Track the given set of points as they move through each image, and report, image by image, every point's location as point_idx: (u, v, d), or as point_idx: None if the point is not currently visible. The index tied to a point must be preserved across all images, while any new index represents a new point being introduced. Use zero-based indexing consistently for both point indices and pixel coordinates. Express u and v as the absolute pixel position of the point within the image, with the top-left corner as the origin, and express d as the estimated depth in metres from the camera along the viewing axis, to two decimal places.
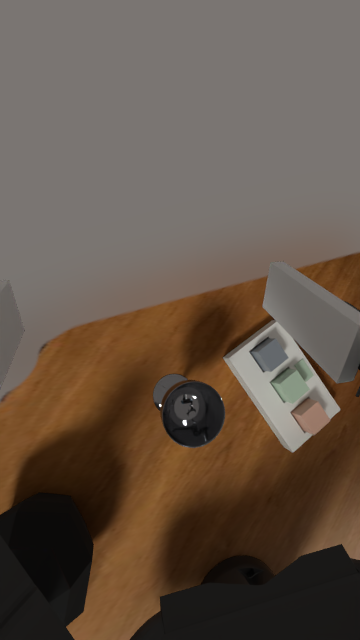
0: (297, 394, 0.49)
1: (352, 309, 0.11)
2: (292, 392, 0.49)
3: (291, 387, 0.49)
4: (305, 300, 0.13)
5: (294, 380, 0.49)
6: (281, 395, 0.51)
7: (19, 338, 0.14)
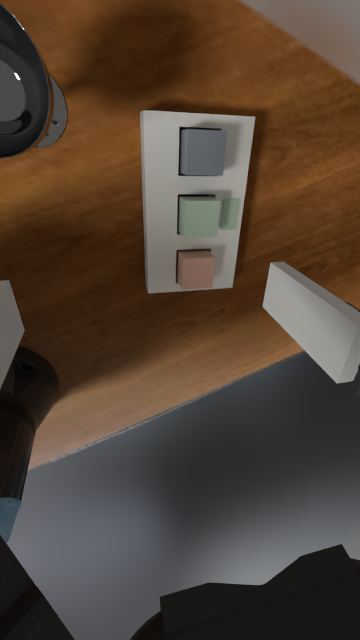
0: (197, 230, 0.34)
1: (352, 309, 0.11)
2: (193, 224, 0.33)
3: (197, 217, 0.33)
4: (305, 300, 0.13)
5: (207, 211, 0.33)
6: (180, 222, 0.35)
7: (19, 338, 0.14)
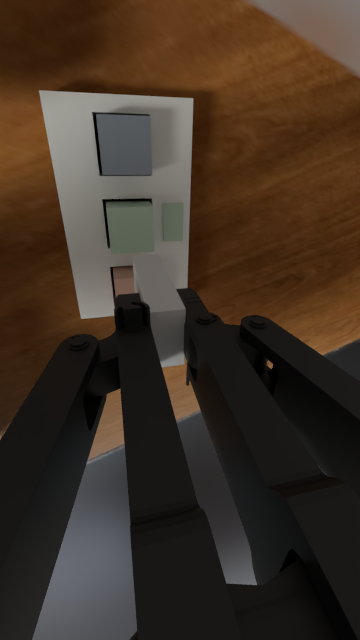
0: (127, 244, 0.27)
1: (176, 296, 0.12)
2: (121, 236, 0.26)
3: (124, 228, 0.26)
4: None
5: (137, 220, 0.26)
6: None
7: None
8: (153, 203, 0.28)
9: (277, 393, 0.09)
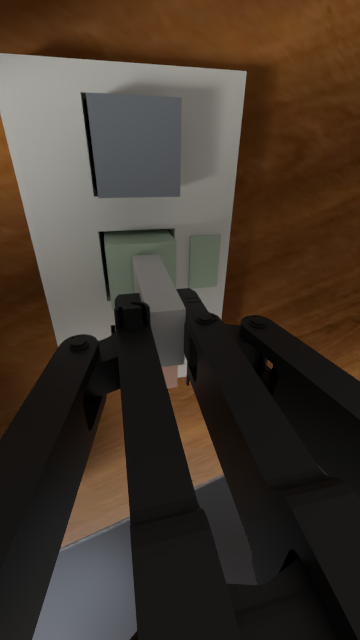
0: None
1: (176, 296, 0.12)
2: (127, 285, 0.17)
3: None
4: None
5: None
6: None
7: None
8: (176, 235, 0.18)
9: (277, 393, 0.09)
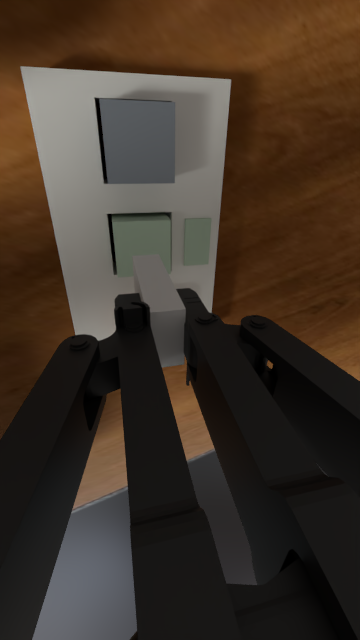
0: None
1: (176, 296, 0.12)
2: (130, 256, 0.21)
3: (135, 246, 0.21)
4: None
5: (150, 237, 0.21)
6: None
7: None
8: (173, 218, 0.22)
9: (277, 393, 0.09)
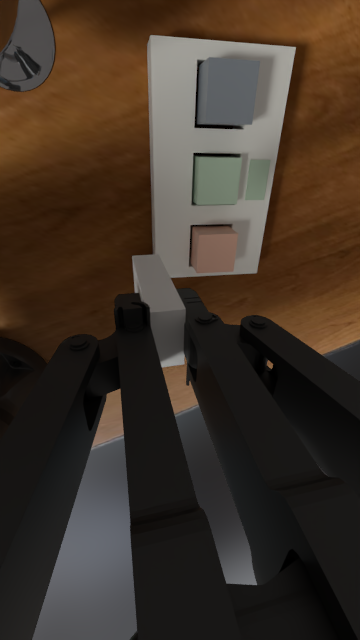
0: (213, 195, 0.28)
1: (176, 296, 0.12)
2: (209, 187, 0.28)
3: (213, 178, 0.27)
4: None
5: (225, 171, 0.27)
6: (192, 187, 0.29)
7: None
8: None
9: (277, 393, 0.09)
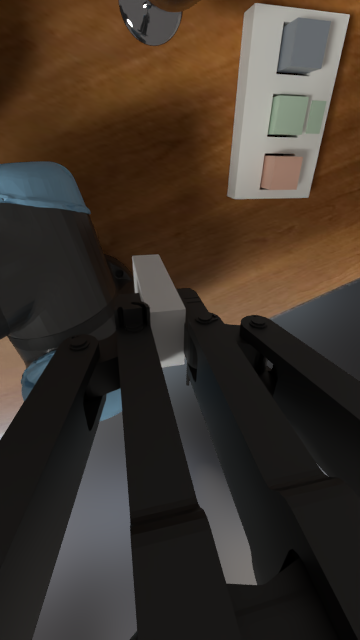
0: (286, 127, 0.38)
1: (176, 296, 0.12)
2: (283, 120, 0.37)
3: (287, 113, 0.37)
4: None
5: (296, 107, 0.37)
6: None
7: None
8: None
9: (277, 393, 0.09)
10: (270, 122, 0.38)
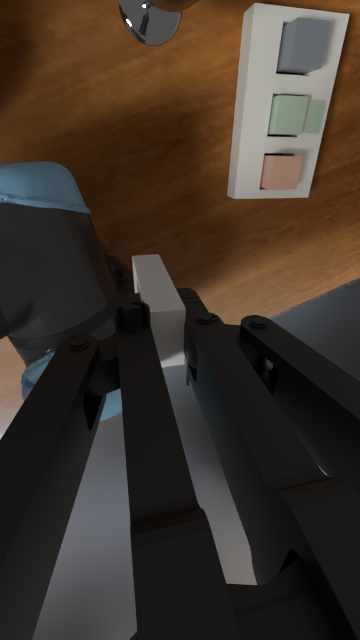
0: (286, 126, 0.38)
1: (176, 296, 0.12)
2: (283, 119, 0.37)
3: (287, 112, 0.37)
4: None
5: (296, 107, 0.37)
6: None
7: None
8: None
9: (277, 393, 0.09)
10: (270, 122, 0.38)
